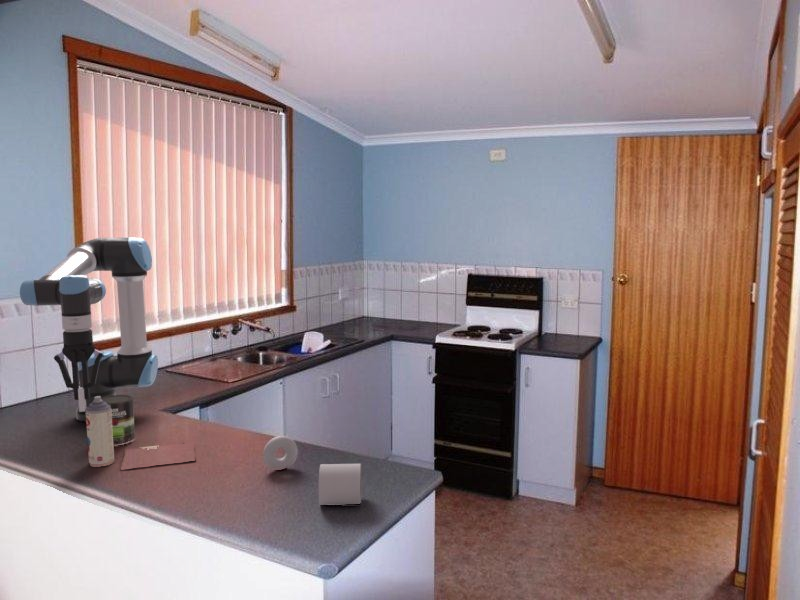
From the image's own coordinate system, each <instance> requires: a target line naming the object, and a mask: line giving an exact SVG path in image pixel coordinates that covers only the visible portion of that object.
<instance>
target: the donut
mask: <svg viewBox="0 0 800 600" xmlns="http://www.w3.org/2000/svg"><path fill="white" fill-rule="evenodd" d="M282 448H283V449H284V450H285V454H284V456H283V457H280V458H278V457H276V451H278V450H279V449H282ZM298 452H299V449H298V445H297V444H296V442H295V440H294V439H292V438H291V437H290V436H286V435H279V436H278V435H277V436H275V437H273V438H271V439H270V440H269V441H268V442H267V443H266V444H265V445H264V448H263V451H262V457H263V461H264V464H265V465H266V467H268V468H280V467H287V466H290V467H292V466H293V464H294V463H295V462H296V460H297V458H298ZM291 465H292V466H291Z"/></svg>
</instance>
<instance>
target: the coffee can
mask: <svg viewBox="0 0 800 600" xmlns="http://www.w3.org/2000/svg"><path fill="white" fill-rule="evenodd" d="M101 400H103V401H104V402H106V403H107V404H109V405H110V407H111V414H112V430H113V445H118V444H122V443H126V442H128V441H131V440H133V439H134V438H135V439H136V435H135V432H136V430H135V414H134V412H135V411H134V396H132V395H128V394H116V395H114V396H108V397H104V398H102V399H101Z"/></svg>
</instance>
